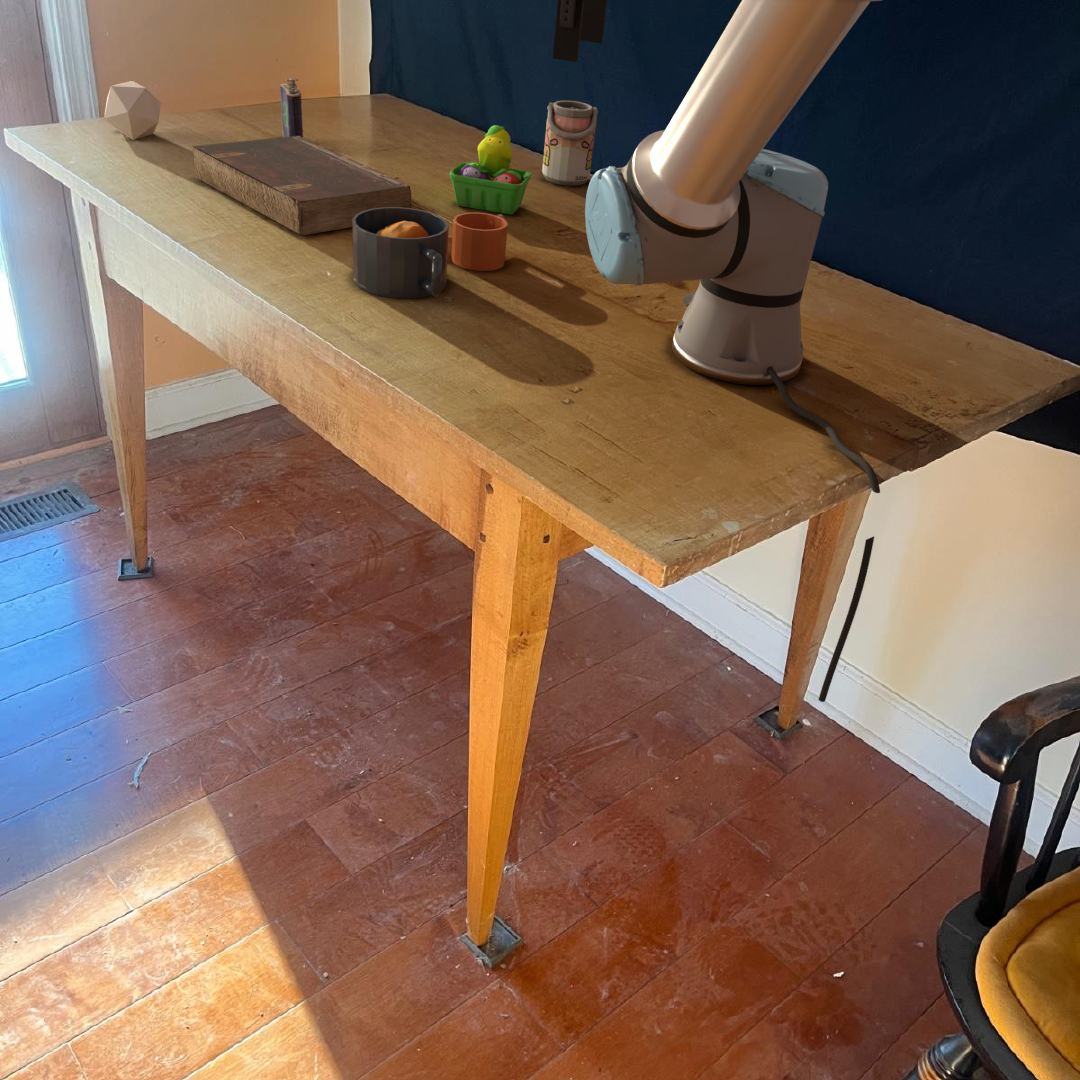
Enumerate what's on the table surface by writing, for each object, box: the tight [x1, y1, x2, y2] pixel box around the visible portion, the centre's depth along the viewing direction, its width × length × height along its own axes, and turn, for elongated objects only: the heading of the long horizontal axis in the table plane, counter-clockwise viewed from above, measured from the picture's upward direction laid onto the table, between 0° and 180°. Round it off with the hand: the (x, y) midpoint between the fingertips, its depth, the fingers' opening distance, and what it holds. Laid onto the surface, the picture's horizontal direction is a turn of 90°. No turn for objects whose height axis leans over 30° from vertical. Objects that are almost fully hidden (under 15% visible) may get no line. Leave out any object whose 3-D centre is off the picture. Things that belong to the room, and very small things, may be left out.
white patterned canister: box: [541, 100, 599, 187], centre depth 172 cm, size 9×8×12 cm
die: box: [103, 80, 162, 141], centre depth 171 cm, size 8×9×10 cm
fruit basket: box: [449, 125, 532, 216], centre depth 158 cm, size 11×9×11 cm
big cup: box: [351, 207, 450, 299], centre depth 129 cm, size 15×12×8 cm
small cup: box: [451, 211, 509, 272], centre depth 140 cm, size 10×7×6 cm
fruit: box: [376, 221, 429, 238], centre depth 130 cm, size 8×8×8 cm
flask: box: [279, 77, 304, 138], centre depth 175 cm, size 9×3×11 cm, turn 21°
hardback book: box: [192, 136, 412, 236], centre depth 154 cm, size 29×19×5 cm, turn 44°
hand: (578, 50), depth 118 cm, fingers open, 13 cm apart
